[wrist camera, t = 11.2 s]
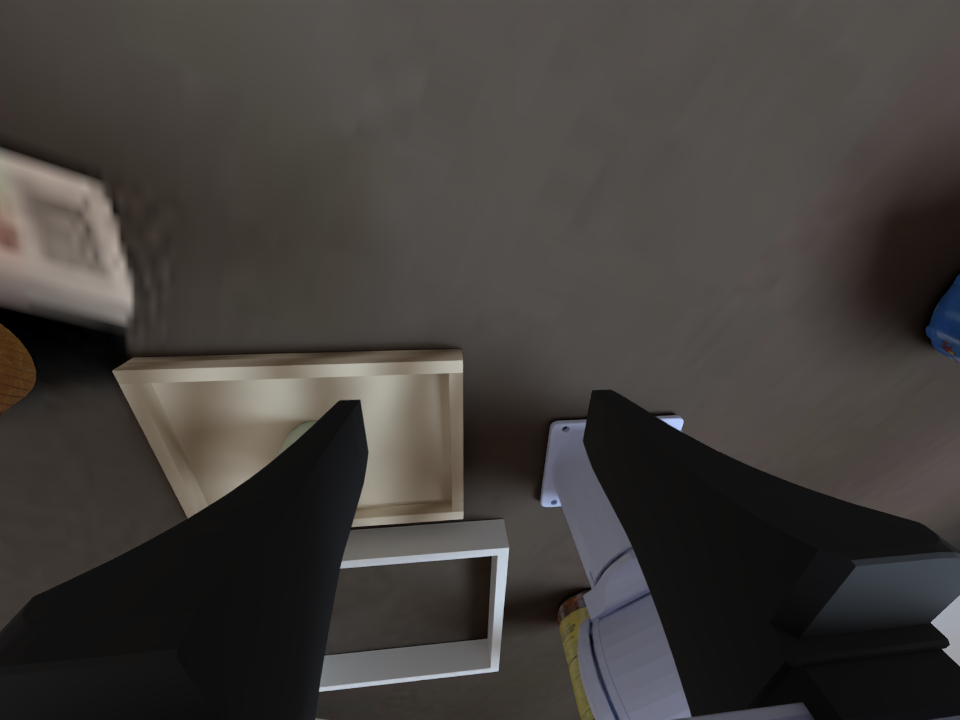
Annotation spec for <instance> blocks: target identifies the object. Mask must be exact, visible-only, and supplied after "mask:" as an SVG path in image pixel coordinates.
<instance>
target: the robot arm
mask: <svg viewBox="0 0 960 720" xmlns="http://www.w3.org/2000/svg"><path fill="white" fill-rule="evenodd" d="M683 422H684V421H683V419H682V418H681V417H680V416H678V415H671V416H654V415H652V414H651V413H649V412H648V411H646V410H644V409H643V408H641V407H640V406H638V405H636V404H635V403H633V402H631V401H630V400H628V399H627V398H625V397H623V396H622V395H620V394H618V393H616V392H614V391H612V390H592V394H591V399H590V405H589V410H588V415H587V419H586V420H565V421H555V422H553V423H552V424H551V425H550V430H549V437H548V445H547V452H546V460H545V467H544V475H543V482H542V490H541V497H540V502H541V505H542V506H544V507H555V506H562V509H563V511H564V514H565V517H566V520H567V522H568V525H569V528H570V531H571V533H572V536H573V539H574V542H575V544H576V547H577V550H578V553H579V555H580V558H581V561H582V564H583V566H584V569H585V572H586V575H587V577H588V580H589V583H590V586H591V588H592V590H590V591H589V592H587V593H586V594H584V595H583V598H584V601H585V604H586V607H587V610H588V613H589V616H590V618H588V619H586V620H584V621H583V622H582V623H581V625H580V628H579V635H578V648H577V655H578V665H579V670H580V675H581V679H582V683H583V687H584V690H585V694H586V697H587V700H588V703H589V705H590V708H591V711H592V713H593V716H594V718H595V720H960V666H959V665H958V664H957V663H955V662H954V661H953V660H952V659H951V658H950V657H949V656H948V655H947V654H946V653H945V652H944V651H943V650H942V649H944V648H947V647H948V646H949V645H950V644H949V641H948V639H947V638H946V637H945V636H944V635H943V634H942V633H941V632H940V631H938V629H936V628H935V627H934V626H933V625H932V624H931V623H930V622H931V621H932V620H933V619H935V618H936V617H937V616H938V615H939V614H940V613H941V612H942V611H943V610H944V609H945V608H946V607H947V606H948V605H949V604H951V603H952V602H953V601H954V600H955V599H956V598H957V597H958V596H959V595H960V551H959V550H958V549H956V548H955V547H954V546H952V545H951V544H950V543H948V542H947V541H945V540H944V539H943V538H941V537H940V536H939V535H937V534H936V533H935V532H933V531H932V530H930V529H929V528H928V527H926V526H924V525H923V524H921V523H919V522H915V521H912V520H908V519H905V518H901V517H898V516H894V515H891V514H887V513H884V512H880V511H877V510H873V509H870V508H866V507H863V506H859V505H856V504H852V503H849V502H846V501H843V500H840V499H837V498H834V497H831V496H828V495H825V494H822V493H819V492H816V491H813V490H810V489H807V488H804V487H802V486H799V485H796V484H793V483H791V482H788V481H786V480H783V479H781V478H778V477H775V476H773V475H770V474H768V473H765V472H763V471H760V470H758V469H756V468H753V467H751V466H749V465H746V464H744V463H742V462H740V461H738V460H735V459H733V458H731V457H729V456H727V455H725V454H723V453H721V452H718V451H716V450H714V449H712V448H710V447H709V446H707V445H705V444H703V443H701V442H699V441H697V440H695V439H694V438H692V437H690V436H688V435H686V434H684V433H683V432H682V431H681V429H682V426H683ZM566 426H567V428H565V429H562V428H563V427H566ZM368 454H369V451H368V445H367V438H366V432H365V426H364V419H363V413H362V407H361V401H360V399H359V400H339V401H338V402H337V403H336V404H335V405H334V406H333V407H332V408H331V409H329V410H328V411H327V412H326V413H325V414H324V415H323V416H322V417H321V418H320V419H319V420H318V421H317V422H316V423H315V424H314V425H313V426H312V427H311V428H309V429H308V430H307V431H306V432H305V433H304V434H303V435H302V436H301V437H300V438H299V439H297V440H296V441H295V442H294V443H293V444H292V445H290V446H289V447H288V448H287V449H286V450H285V451H283V452H282V453H281V454H280V455H279V456H277V457H276V458H275V459H274V460H273V461H271V462H270V463H269V464H268V465H266V466H265V467H264V468H263V469H261V470H260V471H259V472H257V473H256V474H255V475H253V476H252V477H251V478H249V479H248V480H246V481H245V482H244V483H242V484H241V485H239V486H238V487H236V488H235V489H234V490H232V491H231V492H229V493H228V494H226V495H225V496H223V497H222V498H220V499H218V500H217V501H215V502H214V503H212V504H210V505H209V506H207V507H206V508H204V509H202V510H201V511H199V512H198V513H196V514H194V515H193V516H191V517H190V518H188V519H186V520H185V521H183V522H181V523H180V524H178V525H176V526H174V527H173V528H171V529H169V530H167V531H165V532H164V533H162V534H160V535H158V536H156V537H155V538H153V539H151V540H149V541H147V542H145V543H143V544H141V545H140V546H138V547H136V548H134V549H132V550H130V551H128V552H126V553H124V554H122V555H120V556H118V557H116V558H114V559H113V560H111V561H109V562H106V563H104V564H102V565H100V566H98V567H96V568H94V569H92V570H90V571H88V572H85V573H83V574H81V575H79V576H77V577H75V578H73V579H71V580H69V581H66V582H64V583H62V584H60V585H58V586H56V587H54V588H52V589H50V590H47V591H45V592H43V593H41V594H38V595H36V596H34V597H33V598H32V599H31V600H30V601H29V602H28V603H27V604H26V605H25V606H24V607H23V608H22V609H21V610H20V611H19V613H18V614H17V615H16V616H15V617H14V618H13V619H12V620H11V621H10V622H9V623H8V624H7V625H6V626H5V627H4V628H3V629H2V631H1V632H0V720H315V715H316V708H317V701H318V694H319V688H320V681H321V675H322V668H323V662H324V656H325V649H326V643H327V637H328V632H329V626H330V620H331V614H332V608H333V603H334V597H335V592H336V587H337V581H338V576H339V571H340V567H341V563H342V558H343V554H344V551H345V547H346V544H347V541H348V537H349V534H350V530H351V527H352V523H353V520H354V516H355V513H356V510H357V506H358V503H359V499H360V496H361V492H362V488H363V485H364V480H365V474H366V468H367V461H368Z"/></svg>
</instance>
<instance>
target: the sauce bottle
mask: <svg viewBox="0 0 960 720" xmlns="http://www.w3.org/2000/svg"><path fill="white" fill-rule="evenodd" d="M589 591H590V590H588V591H587V590H586V591H582V592H580V593H579V594H576V595H574V596H572V597H570V598H568V599H567V600H566V601H564V602H563V603H562V604H561V606H560V608H559V610H558V622H559V624H560V633H561V638H562V642H563V646H564V650H565V655H566V659H567V663H568V667H569V671H570V676H571V680H572V684H573V688H574V693H575V697H576V701H577V705H578V710H579V714H580V718H581V720H595V718H594V716H593V713H592V711H591V708H590V705H589V703H588V700H587V697H586V694H585V690H584V687H583V683H582V679H581V675H580V670H579V665H578V655H577V648H578V635H579V628H580V625H581V623H582V622H583V621H584V620H586V619H588V618H590V616H589V613H588V610H587V607H586V604H585V601H584V598H583V595H584V594H586V593H587V592H589Z"/></svg>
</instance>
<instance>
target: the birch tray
mask: <svg viewBox="0 0 960 720" xmlns="http://www.w3.org/2000/svg"><path fill="white" fill-rule="evenodd" d="M112 372H113V374H114V376H115V377H116V379H117V381H118V383H119V385H120V387H121V389H122V391H123V393H124V395H125V397H126V399H127V401H128V403H129V405H130V407H131V409H132V411H133V413H134V414H135V416H136V418H137V420H138V422H139V424H140V426H141V428H142V430H143V432H144V434H145V436H146V438H147V440H148V442H149V444H150V446H151V448H152V449H153V451H154V453H155V455H156V457H157V459H158V461H159V463H160V465H161V467H162V469H163V471H164V473H165V475H166V477H167V479H168V481H169V483H170V484H171V486H172V488H173V490H174V492H175V494H176V496H177V498H178V500H179V502H180V504H181V506H182V508H183V510H184V512H185V514H186V516H187V518H190V517H191V516H193V515H194V514H196V513H198V512H199V511H201V510H202V509H204V508H206V507H207V506H209V505H210V504H212V503H214V502H215V501H217V500H218V499H220V498H222V497H223V496H225V495H226V494H228V493H229V492H231V491H232V490H234V489H235V488H236V487H238V486H239V485H241V484H242V483H244V482H245V481H246V480H248V479H249V478H251V477H252V476H253V475H255V474H256V473H257V472H259V471H260V470H261V469H263V468H264V467H265V466H266V465H268V464H269V463H270V462H271V461H273V460H274V459H275V457H276V456H277V454H278V452H279V450H280V448H281V447H282V445H283V443H284V441H285V440H286V438H287V436H288V434H289V433H290V431H291V430H292V429H293V428H295V427H296V426H298V425H299V424H302V423H304V422H308V421H314V420H319V419H320V418H321V417H322V416H323V415H324V414H325V413H326V412H327V411H328V410H329V409H331V408H332V407H333V406H334V405H335V404H336V403H337V402H338V401H339V400H359V399H360V401H361V407H362V413H363V419H364V426H365V432H366V438H367V445H368V451H369V454H368V461H367V468H366V474H365V480H364V485H363V488H362V492H361V496H360V499H359V503H358V506H357V510H356V513H355V516H354V520H353V523H352V527H360V526H374V525H387V524H401V523H415V522H429V521H443V520H457V519H463V357H462V349H433V350H395V351H358V352H320V353H282V354H245V355H207V356H170V357H134V358H132V359H130V360H129V361H127V362H125V363H124V364H122V365H121V366H119V367H117V368H116V369H114V370H113V371H112Z"/></svg>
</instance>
